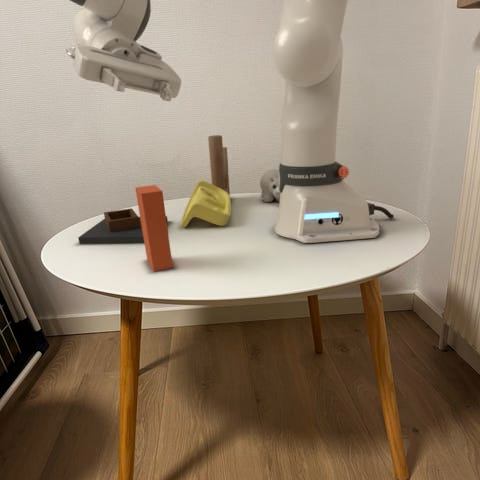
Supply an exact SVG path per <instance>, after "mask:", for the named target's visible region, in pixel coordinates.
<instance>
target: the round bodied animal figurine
mask: <svg viewBox="0 0 480 480" xmlns="http://www.w3.org/2000/svg"><path fill="white" fill-rule="evenodd" d="M278 175H279V169H277V168H270V169H268V170H266V171H264V173H262V175H261V177H260V181H259V182H260V183H259V186H260V189H261V193H260V197H261V199H263V201H264V202H265V203H272V202H273V201H274V199H275V202H277V203H278V202H279V203H280V191H279V177H278Z"/></svg>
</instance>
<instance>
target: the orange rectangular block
mask: <svg viewBox="0 0 480 480" xmlns="http://www.w3.org/2000/svg"><path fill="white" fill-rule="evenodd" d="M134 190H135V195H136V201H137V206H138V212H139V217H140V219H141V225H142V231H143V237H144V243H143V244H144V249H145V255H146V261H147V264H149V265H150V268H151V269H152V271H153V272H158V271H159V272H160V271H163V270H169V269H173V268H174V266H173V258H172V251H171V245H170V244H171V243H170V236H169V230H168V222H167V221H166V216H167V215H166V207H165V200H164V194H163V190H162V189H161V188H159V186H157V185H156V184H153V185H144V186H136V187H135V188H134Z"/></svg>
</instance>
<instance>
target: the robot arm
mask: <svg viewBox="0 0 480 480" xmlns="http://www.w3.org/2000/svg"><path fill="white" fill-rule="evenodd" d="M69 1H70V2H73V3H74V4H75V5H78V6H80V7H83V8H82V9H80V10H79V11H77V13H76V14H75V16H74V18H73V22H72V23H73V24H72V25H73V26H72V27H73V29H72V30H73V35H74V38H75V41H76V43H77V44H75V46H72V47H69V46H67V47H66V49H65V51H66V54H67V55H68V57H69V58H71V59H72V64H73V67H74V70H75V72H76V74H77V75H78V76H79V77H80V78H82V79H84V80H86V81H90V82H95V83H99V84H105V85H107V86H109V87H111V88H113V89H114V91H116V92H120V93H125V91H126V89H128V90H132V91H133V90H134V91H137V92H143V93H148V94H151V95H158V96H159V97H160V98H161V100H162V101H164V102H172V99H176V98H177V97H178V95H179V93H180V90H181V86H182V78H181V77H180V76H179V74H178V73H177V72H176V71H175V70H174V69H173V68H172V66H170V65H169V64H168V63H166V62H165V61H164V60H163V59H162V58H163V57H162V55H161V54H160V53H159V52H157V51H155V50H153V49H151V48H148V47H146V46H144V45H142V44H139V43H138V42H137V41H138V40H139V39H140V38H141V37H142V35H143V33H144V32H145V30H146V28H147V26H148V23H149V21H150V18H151V12H152V11H151V10H152V7H151V0H69ZM347 5H348V0H281V7H280V11H279V17H278V24H277V29H276V36H275V38H274V43H273V59H274V64H275V66H276V70H277V71H278V73H279V75H280V76H281V78H283V79H284V81H285V82H284V83H285V84H284V96H283V107H282V115H281V119H280V164H279V166H278V170H279V175H278V177H279V191H280V202H279V205H278V211H277V217H276V221H275V225H274V229H273V231H274V233H276V234H277V235H278V236H281V237H284V238H288V239H293V240H296V241H298V242H300V243H304V244H313V243H326V242H327V243H329V242H339V241H340V242H341V241H350V240H351V241H352V240H364V239H375V238H376V237H378V236H379V234H380V226H379V223H378V222H377V220H375V219H373V218H371V217H370V216H372V215H375V211H379V212H381V213H383V214H384V215H385V216H386V217H387V218H388V219H394V218H395V216H394V214H393V213H391V212H390V211H389V210H388V209H386V208H385V207H383V206H380V205H376V204H374V203H370V202H368V201H367V200H366V198H365V197H364V196H363V195H362V194H360V192H358V190H356V189H355V188H354V187H353V186H351V185H350V184H349V183H347V182H346V181H345V179H346V178H348V176H349V175H350V170H349V168H348V167H347V166H345V165H343V164H342V163H340V162H338V161H336V155H337V154H336V153H337V134H338V131H337V130H338V116H339V105H340V95H341V83H342V71H343V57H344V47H343V46H344V45H343V40H342V37H341V36H342V31H343V27H344V26H343V25H344V20H345V15H346V9H347Z"/></svg>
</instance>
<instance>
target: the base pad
mask: <svg viewBox="0 0 480 480" xmlns="http://www.w3.org/2000/svg"><path fill="white" fill-rule="evenodd" d="M103 216H104V219H102V220H101V221H99V222H97V223H96V224H95V225H93V226H92V227H91V228H89V229H88V230H86V231H85V232H84V233H82V234H81V235H80V236H78V237H77V238H78V243H79V244H80V245H99V244H101V245H103V244H104V245H105V244H106V245H107V244H145V243H144V237H143V231H142V225H141V219H140V216H139V215H138V214H137V213H136V212H135V211H134V209H133V208H131V207H130V208H123V209H117V210H111V211H104V212H103ZM166 221H167V223H168V222H169V219H168V216H167V215H166Z"/></svg>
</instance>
